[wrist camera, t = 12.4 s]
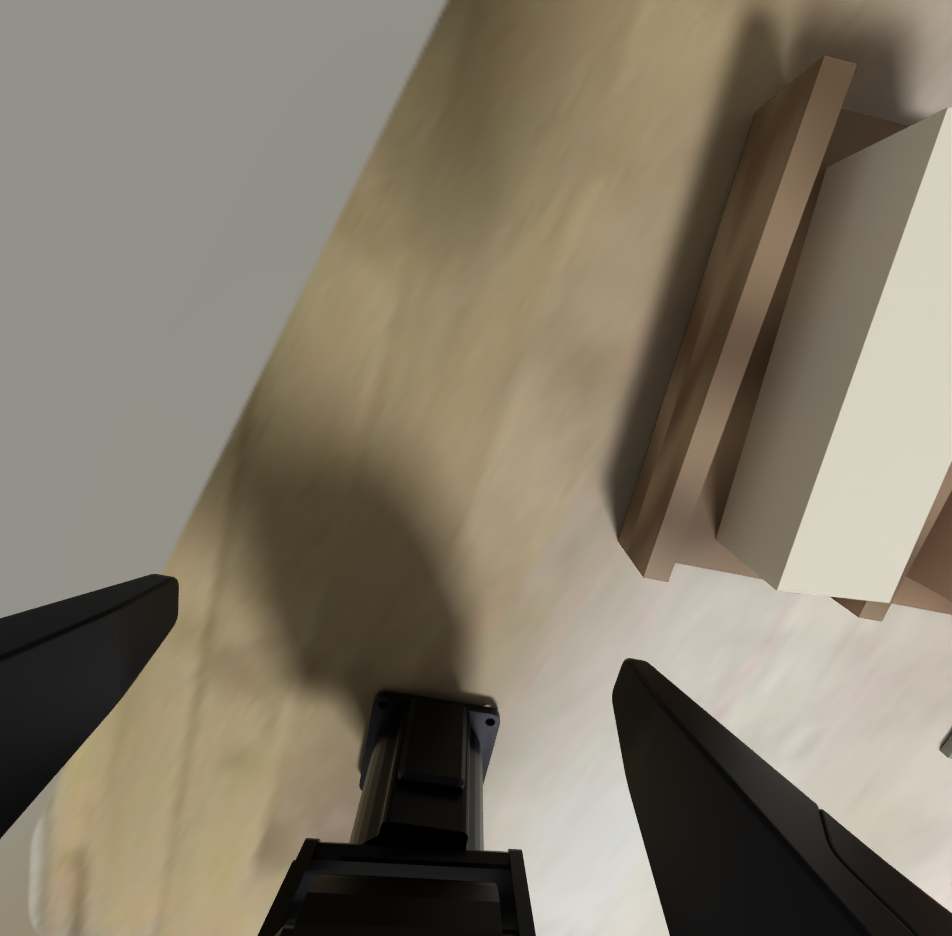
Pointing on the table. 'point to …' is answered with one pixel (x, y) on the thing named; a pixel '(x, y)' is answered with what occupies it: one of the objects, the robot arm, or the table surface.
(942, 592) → the light brown wooden block
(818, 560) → the clay strip
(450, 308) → the table surface
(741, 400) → the drying rack
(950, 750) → the skyscraper
